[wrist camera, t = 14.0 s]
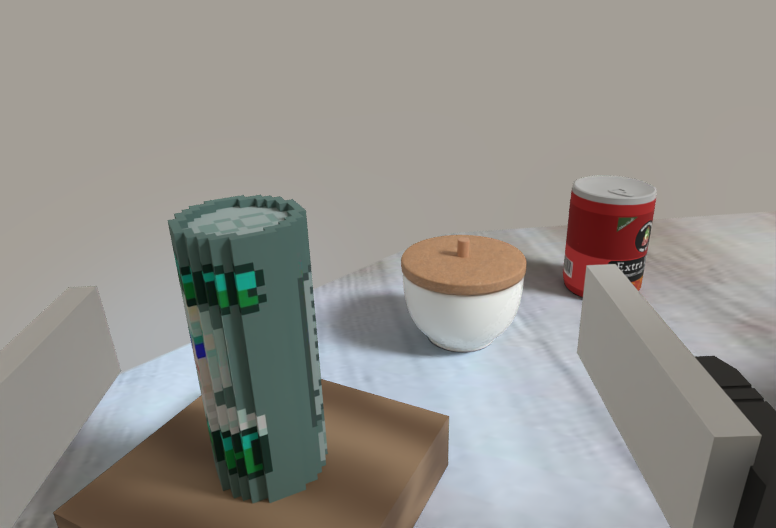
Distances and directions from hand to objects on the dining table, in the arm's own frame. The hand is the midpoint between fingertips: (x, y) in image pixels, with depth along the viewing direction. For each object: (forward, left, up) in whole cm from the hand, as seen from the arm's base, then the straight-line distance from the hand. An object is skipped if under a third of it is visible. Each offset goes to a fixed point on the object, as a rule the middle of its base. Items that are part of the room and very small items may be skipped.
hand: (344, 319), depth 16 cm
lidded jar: (-32, -8, -20) cm, 39 cm away
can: (-8, -11, -16) cm, 21 cm away
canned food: (-47, +2, -20) cm, 51 cm away
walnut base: (-8, -11, -20) cm, 24 cm away
